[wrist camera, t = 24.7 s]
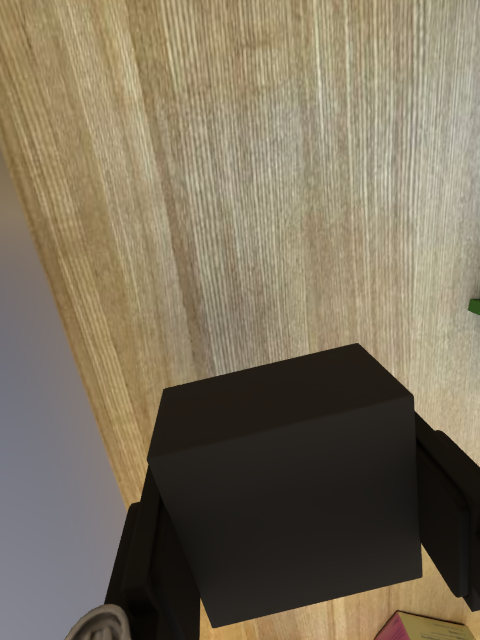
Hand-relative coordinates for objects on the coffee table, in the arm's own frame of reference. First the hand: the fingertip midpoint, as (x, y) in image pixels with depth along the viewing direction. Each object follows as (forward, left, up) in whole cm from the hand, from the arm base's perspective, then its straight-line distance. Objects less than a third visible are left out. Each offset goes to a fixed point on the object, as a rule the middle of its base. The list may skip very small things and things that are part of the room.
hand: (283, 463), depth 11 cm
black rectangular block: (0, 0, -1) cm, 1 cm away
